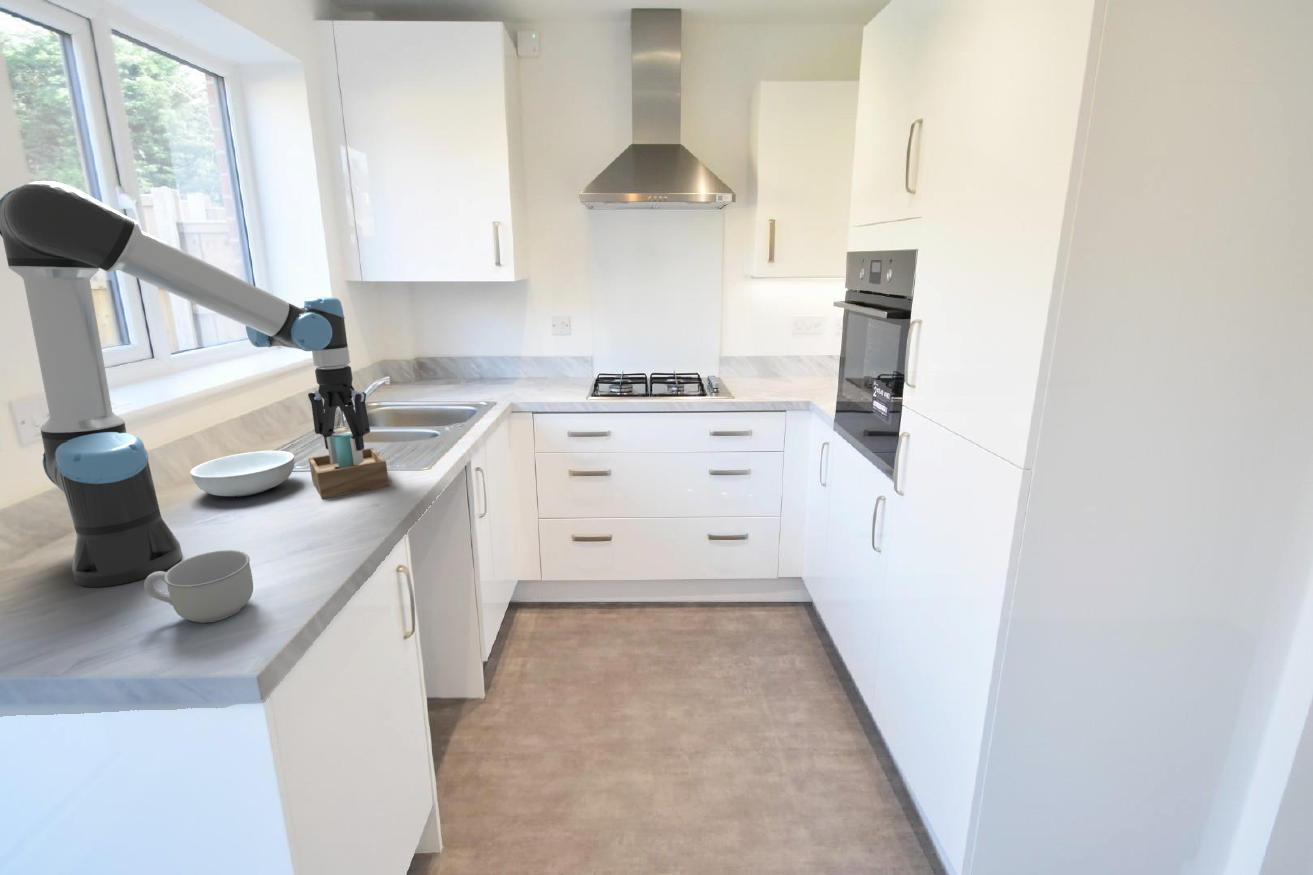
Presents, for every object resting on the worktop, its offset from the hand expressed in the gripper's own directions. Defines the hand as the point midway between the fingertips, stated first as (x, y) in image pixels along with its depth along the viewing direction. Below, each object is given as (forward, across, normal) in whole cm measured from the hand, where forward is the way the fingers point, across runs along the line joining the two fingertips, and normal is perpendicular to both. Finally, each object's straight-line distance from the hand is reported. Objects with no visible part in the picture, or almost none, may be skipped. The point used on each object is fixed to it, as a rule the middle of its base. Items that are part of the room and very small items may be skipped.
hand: (347, 462), depth 157 cm
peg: (+5, 0, 0) cm, 5 cm away
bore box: (+5, 0, 0) cm, 5 cm away
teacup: (+6, -16, +58) cm, 60 cm away
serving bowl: (+6, +22, +7) cm, 24 cm away
